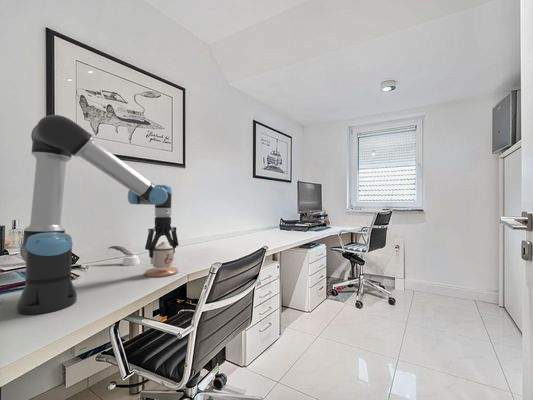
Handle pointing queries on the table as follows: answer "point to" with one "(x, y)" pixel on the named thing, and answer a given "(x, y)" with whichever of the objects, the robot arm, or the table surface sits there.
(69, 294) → the robot arm
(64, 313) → the table surface
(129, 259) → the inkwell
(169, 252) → the teacup with lid
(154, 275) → the dish
